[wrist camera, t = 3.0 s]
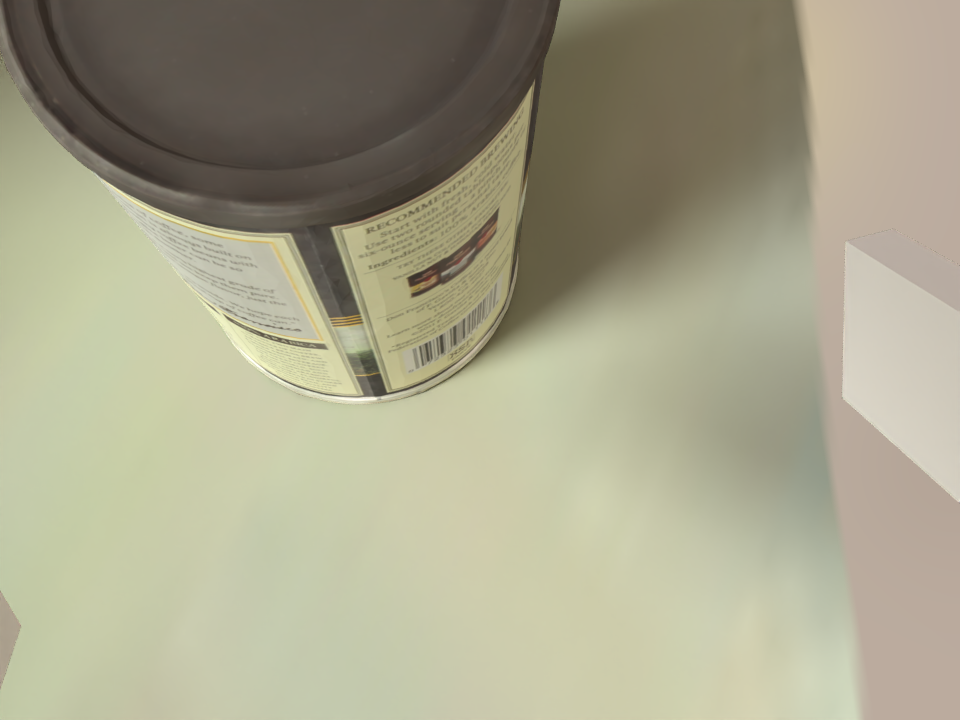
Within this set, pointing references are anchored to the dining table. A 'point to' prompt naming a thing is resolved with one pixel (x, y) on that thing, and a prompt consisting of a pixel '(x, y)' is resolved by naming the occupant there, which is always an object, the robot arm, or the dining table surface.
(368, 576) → the dining table surface
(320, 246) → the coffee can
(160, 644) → the dining table surface
